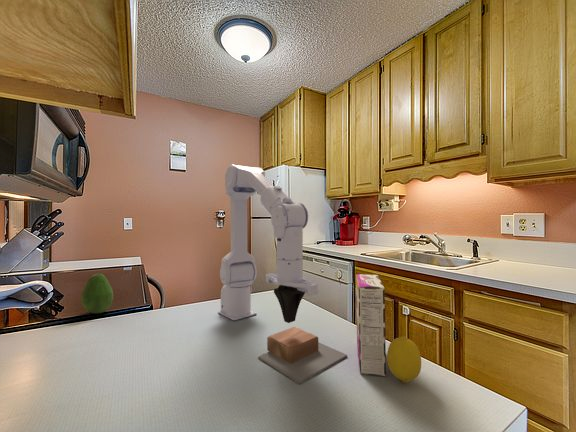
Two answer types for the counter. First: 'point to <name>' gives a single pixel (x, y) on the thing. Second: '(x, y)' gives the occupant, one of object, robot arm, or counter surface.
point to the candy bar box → (370, 324)
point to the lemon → (404, 359)
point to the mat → (305, 363)
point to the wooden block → (292, 344)
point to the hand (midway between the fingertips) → (289, 321)
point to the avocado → (97, 294)
